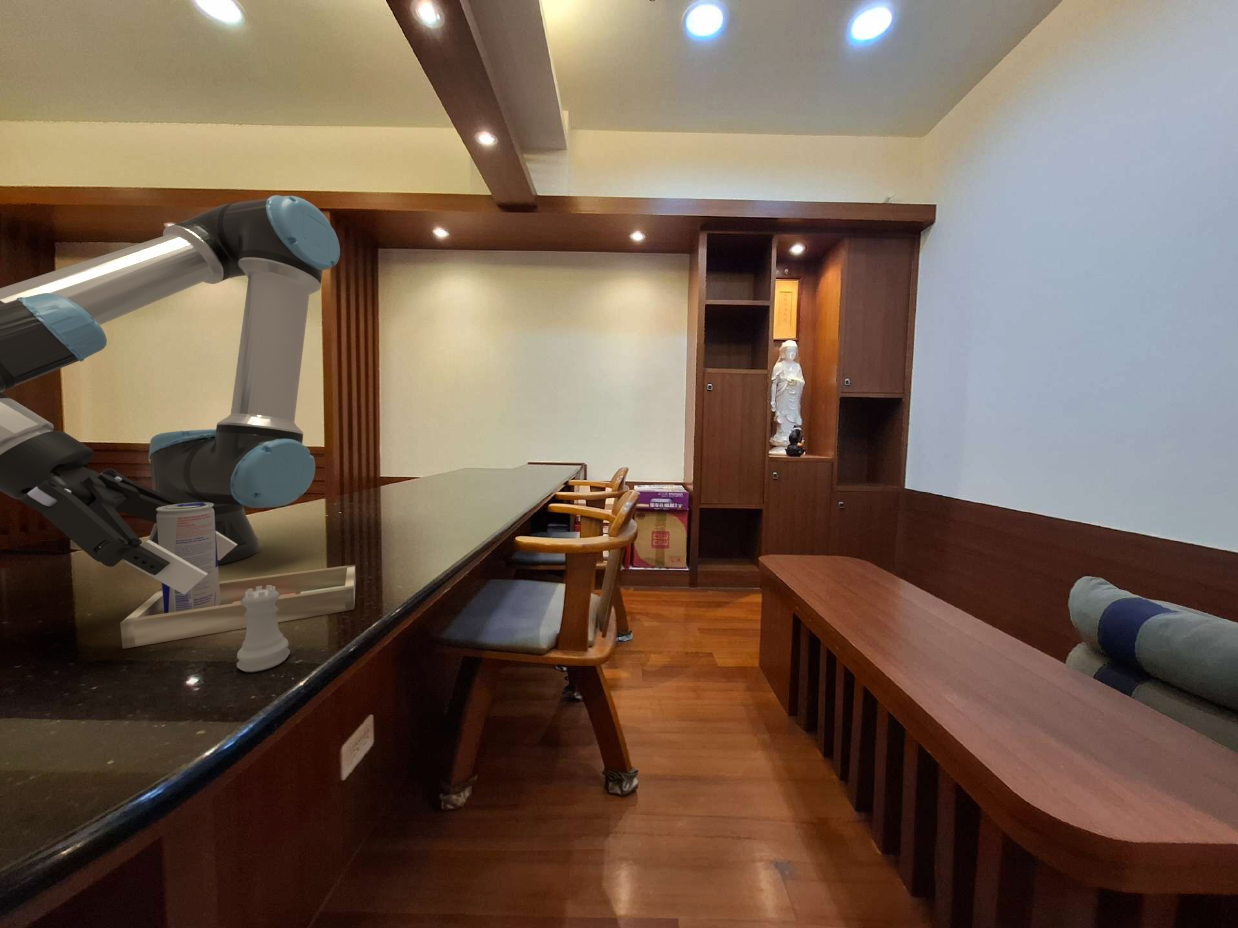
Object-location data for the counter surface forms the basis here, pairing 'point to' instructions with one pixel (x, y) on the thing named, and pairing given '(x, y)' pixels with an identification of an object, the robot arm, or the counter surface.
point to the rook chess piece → (262, 632)
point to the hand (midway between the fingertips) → (214, 566)
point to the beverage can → (190, 552)
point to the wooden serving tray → (161, 627)
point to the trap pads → (280, 595)
